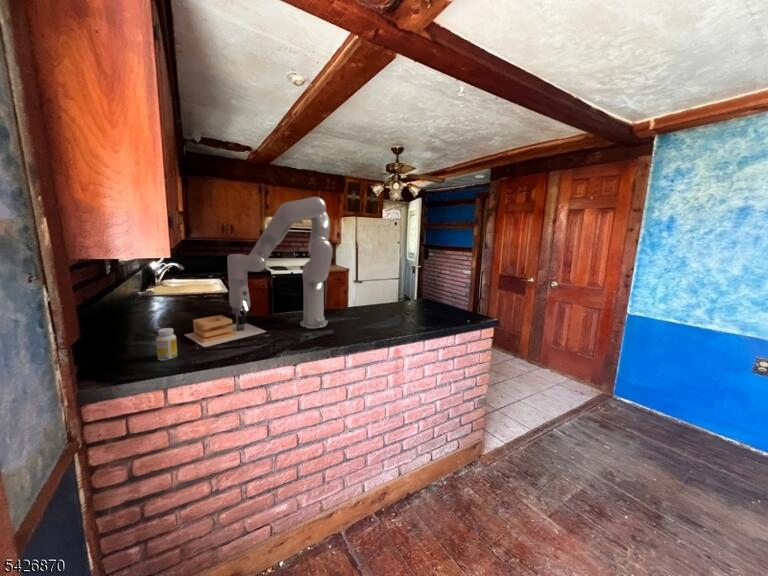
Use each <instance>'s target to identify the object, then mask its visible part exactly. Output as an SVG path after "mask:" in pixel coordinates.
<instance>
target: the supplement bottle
mask: <svg viewBox="0 0 768 576" xmlns="http://www.w3.org/2000/svg"><path fill="white" fill-rule="evenodd" d="M157 335H158V336H157V337H156V338H155V340H156V341H155V342H156V343H155V344H156V352H157V356H156V357H157V360H159V361H163V362H165V361H167V360H171V359H175V358H176V357H177V356H178V345H177V336H176V334H174V328H171V327H167V328H166V327H165V328H160V329H158V331H157Z"/></svg>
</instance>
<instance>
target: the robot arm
mask: <svg viewBox="0 0 768 576" xmlns="http://www.w3.org/2000/svg"><path fill="white" fill-rule="evenodd" d="M306 220H310V221H311V229H310V236H309V241H308V244H307V251H308V253H309V260H308V261H306V262H305V264H304V265H303V267H302V282H303V283H302V284H303V286H302V287H303V320H302V321H300V327H302V326H303V327H302V328H304V327H306V328H305V329H320V328H324V327H326V326H327V324H328V322H329V321H328V320H326V319H325V318H326V317H325V316H324V314H325V313H324V312H325V311H324V307H325V306H324V302H325V301H324V300H325V299H324V297H325V295H324V294H325V284H324V282H325V281H326V280H327V279H328V277H329V274H330V269H331V264H332V258H333V246H332V244H331V242H330V241H329V239H330V231H331V221H330V217H329V215H328V212H327V205H326V201H325V200H324V199H323V198H321V197H319V196H311V197H307V198H302V199H297V200H292V201H286V202H283V203H282V204H280V206H278V208H277V210H276V211H275V213H274V214H273V216H272V218H271V219H270V220H269V222H268V224H267V226H266V228H264V231H262V234H261V236H260V238H259V239H258V240H257V242H256V244H255V245H254V246H253V248H252V250H251V251H250V253H249V254H248V255H247V254H242V253H232V254H231V253H230V254H229V255H227V277H228V282H227V283H228V287H229V290H228V295H229V296H228V297H229V298H228V299H229V300H228V301H229V306H230V307H231V309H232V315H233V324H236V312H235V308H236V309H238V311H239V316H238V325H243V324H246V323H247V317H246V316H247V313H248V312H249V309H250V308H251V299H250V298H251V297H250V292H249V286H248V282H249V281H248V272H255V273H258V272H261V271H264V270H265V268H266V266H267V262H266V261H267V260H268V259H269V257H270V255H271V253H272V252H273V250H274V249H276V247H277V246H278V245H280V244H281V243H282V242H283V240H285V237H286V235H287V234H288V232H289V230H290V229H291V228H292V226H293V225H294V223H295V222H300V221H306ZM241 310H243V311H242V312H241Z"/></svg>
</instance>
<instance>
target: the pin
mask: <svg viewBox="0 0 768 576" xmlns="http://www.w3.org/2000/svg"><path fill="white" fill-rule="evenodd" d="M242 311H243V310H241V312H242ZM235 312H236V323H235V324H236V331H243V330H244V324H243V325H238V316H239V311H238V309H236V308H235Z"/></svg>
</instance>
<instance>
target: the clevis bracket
mask: <svg viewBox="0 0 768 576" xmlns="http://www.w3.org/2000/svg"><path fill="white" fill-rule="evenodd" d="M192 322H193V323H192V324H193V332H192V333H191V332H190V333H191V336H192V337H194V338H196V339H198V340H199V341H201V342H203V343H206V342H210V341H214V340H219V339H223V338H227V337H231V336H236V333H235V332H233V328H232V327H230V326H228V325H232V324H233V319H232V318H229V317H227V316H224V315H222V314H218V315H212V316H207V317H201V318H196V319H193V320H192Z"/></svg>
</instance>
